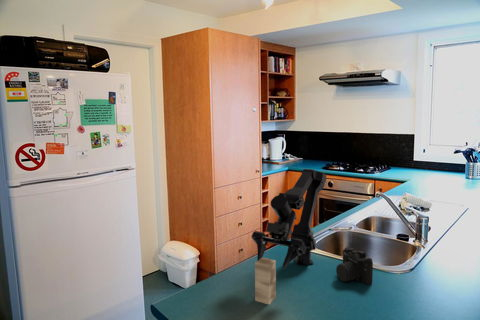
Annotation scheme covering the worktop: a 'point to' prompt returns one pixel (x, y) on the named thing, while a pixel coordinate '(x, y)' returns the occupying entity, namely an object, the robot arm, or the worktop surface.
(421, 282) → the worktop surface
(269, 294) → the maple block
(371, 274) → the camera
